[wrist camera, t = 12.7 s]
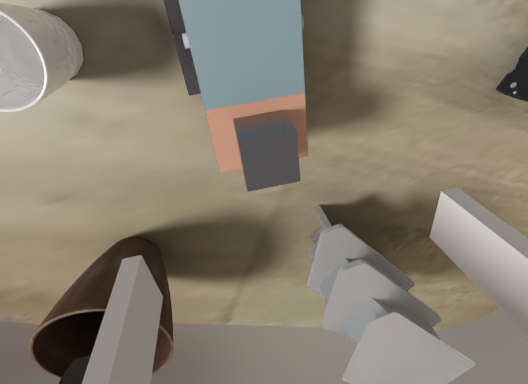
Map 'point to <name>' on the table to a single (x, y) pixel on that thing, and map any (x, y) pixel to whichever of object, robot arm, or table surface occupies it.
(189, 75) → the pivot stand
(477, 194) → the table surface
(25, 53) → the white cup
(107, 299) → the plant pot
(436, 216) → the robot arm
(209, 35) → the balance beam
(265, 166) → the block
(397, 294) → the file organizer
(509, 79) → the disk drive
